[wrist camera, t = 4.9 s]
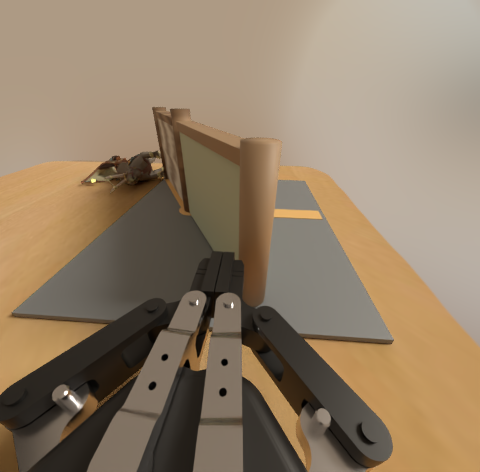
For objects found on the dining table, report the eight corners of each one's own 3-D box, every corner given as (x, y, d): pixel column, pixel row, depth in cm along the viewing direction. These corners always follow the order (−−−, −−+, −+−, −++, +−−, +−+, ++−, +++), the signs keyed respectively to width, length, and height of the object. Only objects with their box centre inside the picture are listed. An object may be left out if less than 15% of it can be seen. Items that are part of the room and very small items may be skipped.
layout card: (10, 316, 18) (5, 311, 18) (166, 177, 49) (165, 175, 49) (391, 343, 17) (394, 339, 16) (304, 182, 48) (304, 180, 47)
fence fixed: (201, 211, 34) (191, 109, 26) (186, 214, 33) (172, 109, 25) (175, 175, 49) (163, 104, 41) (164, 177, 48) (150, 104, 40)
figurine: (152, 161, 37) (51, 174, 36) (162, 194, 41) (70, 206, 39) (167, 142, 54) (98, 150, 53) (173, 166, 57) (109, 174, 56)
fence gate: (186, 213, 33) (173, 116, 26) (202, 210, 34) (193, 116, 26) (245, 310, 18) (252, 146, 11) (269, 301, 19) (290, 143, 12)
